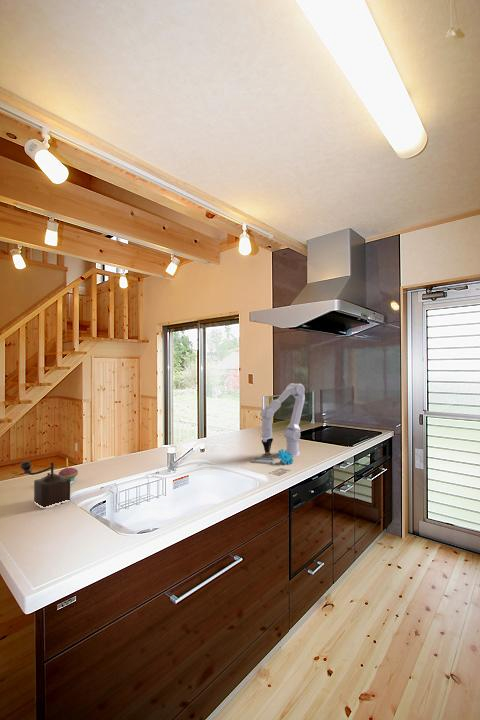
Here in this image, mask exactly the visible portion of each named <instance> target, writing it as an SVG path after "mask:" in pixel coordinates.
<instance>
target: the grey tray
mask: <svg viewBox="0 0 480 720" xmlns="http://www.w3.org/2000/svg"><path fill="white" fill-rule="evenodd" d="M275 461H276V458H274V457H273V458H262V456H261V457H259V456H254V458H253V459H251V461H250V462H251V463H255V464H267V465H268V464H269V465H272V464H273V463H274V462H275Z"/></svg>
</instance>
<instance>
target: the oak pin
mask: <svg viewBox="0 0 480 720" xmlns="http://www.w3.org/2000/svg"><path fill="white" fill-rule="evenodd" d="M270 453H271V449H270V447H269V452H265V451H264V454H265V455H266V456H269V455H270Z"/></svg>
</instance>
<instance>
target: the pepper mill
mask: <svg viewBox="0 0 480 720" xmlns="http://www.w3.org/2000/svg"><path fill="white" fill-rule="evenodd" d="M31 467H32V462H31V461H30V460H25V461H22V462H21V463H20V469H21V470H23V474H27V475H31V476H34V475H39V474H42V473H45V472H46V471H49V470H50V472H48V473H47V475H46V476H43V477H41V478H39V479H35V480H33V481H34V482H33V484H34V485H33V487H34V488H33V502H34V501H35V502H36V503H38V504H39V505H41V506H43V507H46V506H49V505H52V504H55V503H59V502H62V501H65V500H70V501H71V484H70V479H69V478H67V477H64V476H62V475H60V474H59V473H58V474H56V473H55V472H54V468H55V462H54V461H51V462H50V466H49V467H47V468H44V469H42V470H39V471H36V472H32V471H33V470H32V469H31Z"/></svg>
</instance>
